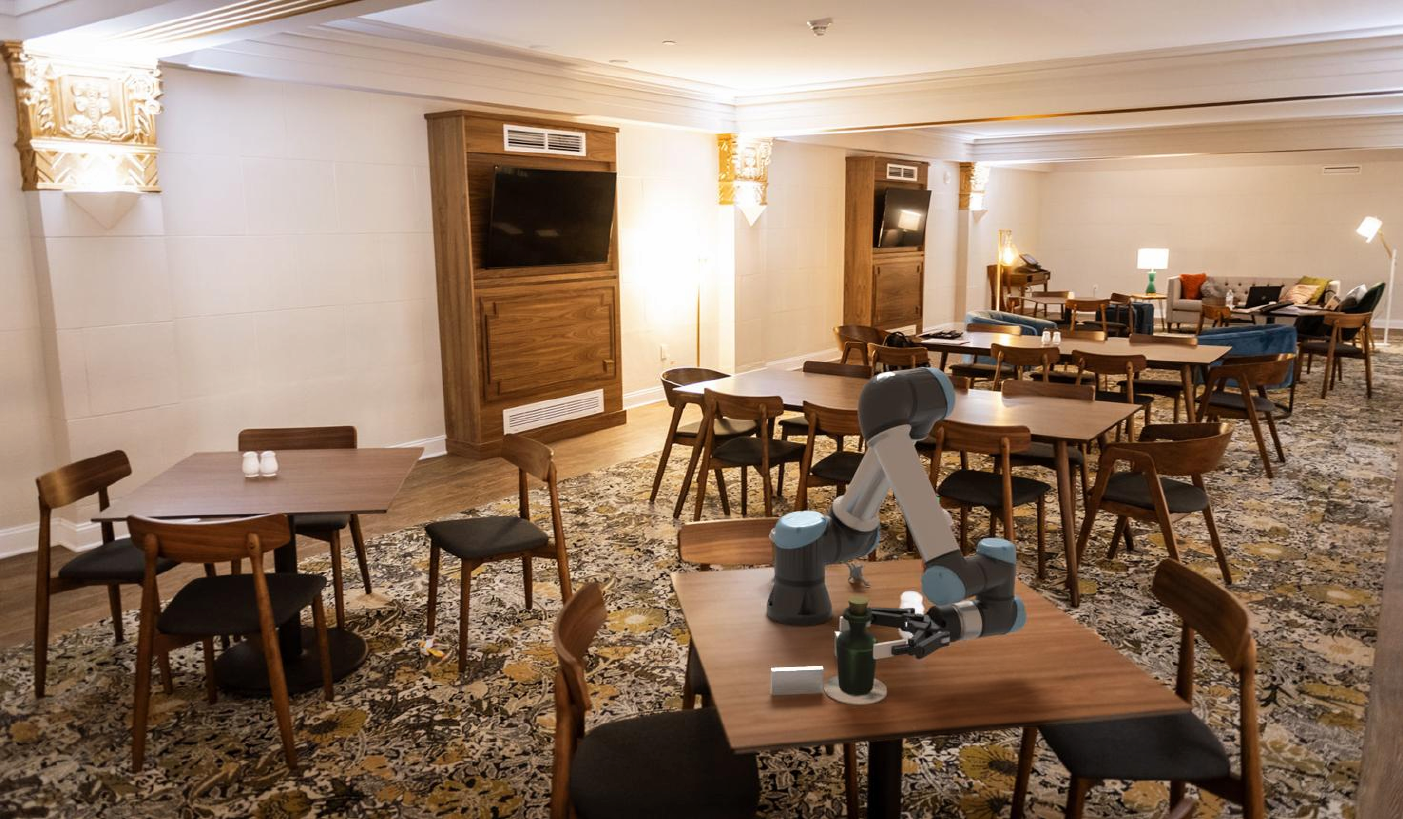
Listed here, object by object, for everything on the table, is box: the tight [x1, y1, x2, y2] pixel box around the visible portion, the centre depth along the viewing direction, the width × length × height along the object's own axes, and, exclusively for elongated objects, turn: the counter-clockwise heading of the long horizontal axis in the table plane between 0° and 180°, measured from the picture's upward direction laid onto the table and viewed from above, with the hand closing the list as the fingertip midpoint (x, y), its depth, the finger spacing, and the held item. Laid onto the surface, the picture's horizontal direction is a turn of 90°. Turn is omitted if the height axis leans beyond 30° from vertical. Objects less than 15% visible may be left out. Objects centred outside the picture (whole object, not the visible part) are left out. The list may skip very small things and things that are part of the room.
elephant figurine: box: [843, 560, 871, 587], centre depth 245 cm, size 10×6×9 cm
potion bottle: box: [836, 595, 879, 695], centre depth 185 cm, size 8×8×18 cm
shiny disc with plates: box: [770, 630, 888, 706], centre depth 189 cm, size 19×24×5 cm
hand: (856, 637), depth 185 cm, fingers open, 13 cm apart
